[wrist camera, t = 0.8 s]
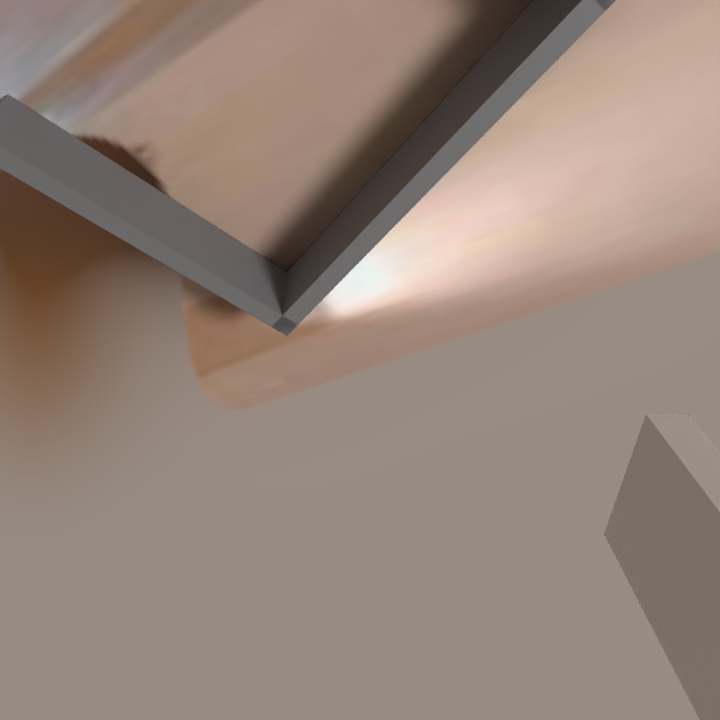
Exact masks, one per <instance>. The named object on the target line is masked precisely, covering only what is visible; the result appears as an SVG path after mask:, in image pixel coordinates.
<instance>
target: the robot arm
mask: <svg viewBox="0 0 720 720" xmlns="http://www.w3.org/2000/svg"><path fill="white" fill-rule="evenodd" d="M604 535H605V537H606V539H607V541H608V543H609V544H610V547H611V548H612V551H613V553H614V554H615V556H616V558H617V560H618V562H619V564H620V566H621V568H622V570H623V572H624V574H625V576H626V578H627V580H628V582H629V584H630V585H631V587H632V589H633V591H634V593H635V595H636V597H637V599H638V601H639V603H640V605H641V607H642V609H643V610H644V613H645V614H646V617H647V619H648V621H649V622H650V624H651V626H652V628H653V630H654V632H655V634H656V636H657V638H658V640H659V642H660V644H661V646H662V647H663V650H664V652H665V654H666V655H667V657H668V659H669V661H670V663H671V665H672V667H673V669H674V671H675V673H676V675H677V677H678V679H679V680H680V683H681V685H682V687H683V688H684V690H685V692H686V694H687V696H688V698H689V700H690V702H691V704H692V706H693V708H694V710H695V712H696V714H697V716H698V718H699V720H720V452H719V450H718V449H717V448H716V447H715V446H714V445H713V443H712V442H711V441H710V440H709V439H708V437H707V436H706V435H705V434H704V433H703V431H702V430H701V429H700V428H699V427H698V426H697V424H696V423H695V422H694V421H693V420H692V418H691V417H690V416H689V415H688V416H687V415H662V414H646V416H645V418H644V421H643V424H642V427H641V430H640V433H639V436H638V438H637V441H636V444H635V447H634V450H633V453H632V456H631V459H630V462H629V464H628V467H627V470H626V473H625V476H624V479H623V481H622V485H621V487H620V490H619V493H618V496H617V499H616V502H615V504H614V508H613V510H612V513H611V516H610V519H609V522H608V525H607V527H606V530H605V533H604Z"/></svg>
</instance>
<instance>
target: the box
mask: <svg viewBox="0 0 720 720" xmlns="http://www.w3.org/2000/svg"><path fill="white" fill-rule="evenodd" d="M614 1H615V0H533V1H532V2H531V3H530V4H529V6H528V7H527V8H526V9H525V10H524V11H523V12H522V13H521V14H520V16H519V17H518V18H517V19H516V20H515V21H514V22H513V23H512V24H511V25H510V27H509V28H508V29H507V30H506V31H505V32H504V33H503V34H502V35H501V36H500V38H499V39H498V40H497V41H496V42H495V43H494V44H493V45H492V46H491V48H490V49H489V50H488V51H487V52H486V53H485V54H484V55H483V56H482V57H481V59H480V60H479V61H478V62H477V63H476V64H475V65H474V66H473V67H472V68H471V70H470V71H469V72H468V73H467V74H466V75H465V76H464V77H463V78H462V80H461V81H460V82H459V83H458V84H457V85H456V86H455V87H454V88H453V89H452V91H451V92H450V93H449V94H448V95H447V96H446V97H445V98H444V99H443V100H442V102H441V103H440V104H439V105H438V106H437V107H436V108H435V109H434V110H433V112H432V113H431V114H430V115H429V116H428V117H427V118H426V119H425V120H424V121H423V123H422V124H421V125H420V126H419V127H418V128H417V129H416V130H415V131H414V132H413V134H412V135H411V136H410V137H409V138H408V139H407V140H406V141H405V142H404V144H403V145H402V146H401V147H400V148H399V149H398V150H397V151H396V152H395V153H394V155H393V156H392V157H391V158H390V159H389V160H388V161H387V162H386V163H385V164H384V166H383V167H382V168H381V169H380V170H379V171H378V172H377V173H376V174H375V176H374V177H373V178H372V179H371V180H370V181H369V182H368V183H367V184H366V185H365V187H364V188H363V189H362V190H361V191H360V192H359V193H358V194H357V195H356V196H355V198H354V199H353V200H352V201H351V202H350V203H349V204H348V205H347V206H346V208H345V209H344V210H343V211H342V212H341V213H340V214H339V215H338V216H337V217H336V219H335V220H334V221H333V222H332V223H331V224H330V225H329V226H328V227H327V228H326V230H325V231H324V232H323V233H322V234H321V235H320V236H319V237H318V238H317V240H316V241H315V242H314V243H313V244H312V245H311V246H310V247H309V248H308V249H307V251H306V252H305V253H304V254H303V255H302V256H301V257H300V258H299V259H298V260H297V262H296V263H295V264H294V265H293V266H292V267H291V268H290V269H289V270H288V272H286V271H285V270H283V269H282V268H280V267H279V266H277V265H275V264H274V263H272V262H271V261H269V260H268V259H266V258H264V257H263V256H261V255H260V254H258V253H257V252H255V251H253V250H252V249H250V248H249V247H247V246H246V245H244V244H242V243H241V242H239V241H238V240H236V239H234V238H233V237H231V236H230V235H228V234H227V233H225V232H223V231H222V230H220V229H219V228H217V227H216V226H214V225H212V224H211V223H209V222H208V221H206V220H205V219H203V218H201V217H200V216H198V215H197V214H195V213H194V212H192V211H190V210H189V209H187V208H186V207H184V206H183V205H181V204H179V203H178V202H176V201H175V200H173V199H172V198H170V197H168V196H167V195H165V194H164V193H162V192H161V191H159V190H157V189H156V188H154V187H152V186H151V185H149V184H148V183H146V182H145V181H143V180H142V179H140V178H138V177H137V176H135V175H134V174H132V173H130V172H129V171H127V170H126V169H124V168H123V167H121V166H120V165H118V164H116V163H115V162H113V161H112V160H110V159H108V158H107V157H105V156H104V155H102V154H101V153H99V152H98V151H96V150H94V149H93V148H91V147H90V146H88V145H87V144H85V143H83V142H82V141H80V140H79V139H77V138H76V137H74V136H72V135H71V134H69V133H68V132H66V131H65V130H63V129H61V128H60V127H58V126H57V125H55V124H54V123H52V122H50V121H49V120H47V119H46V118H44V117H42V116H41V115H39V114H38V113H36V112H35V111H33V110H31V109H30V108H28V107H27V106H25V105H24V104H22V103H20V102H19V101H17V100H16V99H14V98H13V97H11V96H9V95H7V96H6V97H5V98H4V99H3V100H2V101H1V102H0V169H2V170H4V171H6V172H7V173H9V174H11V175H12V176H14V177H16V178H18V179H19V180H21V181H23V182H24V183H26V184H28V185H29V186H31V187H33V188H35V189H36V190H38V191H40V192H42V193H43V194H45V195H47V196H49V197H50V198H52V199H53V200H55V201H57V202H59V203H60V204H63V205H64V206H66V207H67V208H69V209H71V210H72V211H74V212H76V213H78V214H79V215H81V216H83V217H84V218H86V219H88V220H89V221H91V222H93V223H95V224H96V225H98V226H100V227H101V228H103V229H105V230H106V231H108V232H110V233H112V234H113V235H115V236H117V237H118V238H120V239H122V240H124V241H125V242H127V243H129V244H130V245H132V246H134V247H136V248H138V249H139V250H141V251H143V252H144V253H146V254H148V255H149V256H151V257H153V258H154V259H156V260H158V261H160V262H162V263H163V264H165V265H166V266H168V267H170V268H172V269H173V270H175V271H177V272H178V273H180V274H182V275H184V276H185V277H187V278H189V279H190V280H192V281H194V282H195V283H197V284H199V285H201V286H202V287H204V288H206V289H207V290H209V291H211V292H213V293H214V294H216V295H218V296H219V297H221V298H223V299H225V300H226V301H228V302H230V303H231V304H233V305H235V306H237V307H238V308H240V309H242V310H243V311H245V312H247V313H249V314H250V315H252V316H254V317H255V318H257V319H259V320H261V321H262V322H264V323H266V324H267V325H269V326H271V327H273V328H274V329H276V330H278V331H279V332H281V333H283V334H284V335H286V336H287V335H288V334H289V333H290V332H291V331H292V330H293V329H294V328H295V327H296V326H297V325H298V324H299V323H300V322H301V321H302V320H303V319H304V318H305V317H306V316H307V315H308V314H309V313H310V312H311V311H312V310H313V309H314V308H315V307H316V306H317V305H318V304H319V303H320V302H321V301H322V300H323V299H324V297H325V296H326V295H327V294H328V293H329V292H330V291H331V290H332V289H333V288H334V287H335V286H336V285H337V284H338V283H339V282H340V281H341V280H342V279H343V278H344V277H345V276H346V275H347V274H348V273H349V272H350V271H351V270H352V269H353V268H354V267H355V266H356V265H357V264H358V263H359V262H360V261H361V260H362V259H363V258H364V257H365V256H366V255H367V254H368V253H369V252H370V251H371V250H372V248H373V247H374V246H375V245H376V244H377V243H378V242H379V241H380V240H381V239H382V238H383V237H384V236H385V235H386V234H387V233H388V232H389V231H390V230H391V229H392V228H393V227H394V226H395V225H396V224H397V223H398V222H399V221H400V220H401V219H402V218H403V217H404V216H405V215H406V214H407V213H408V212H409V211H410V210H411V209H412V208H413V207H414V206H415V205H416V204H417V203H418V202H419V201H420V200H421V198H422V197H423V196H424V195H425V194H426V193H427V192H428V191H429V190H430V189H431V188H432V187H433V186H434V185H435V184H436V183H437V182H438V181H439V180H440V179H441V178H442V177H443V176H444V175H445V174H446V173H447V172H448V171H449V170H450V169H451V168H452V167H453V166H454V165H455V164H456V163H457V162H458V161H459V160H460V159H461V158H462V157H463V156H464V155H465V154H466V153H467V152H468V151H469V149H470V148H471V147H472V146H473V145H474V144H475V143H476V142H477V141H478V140H479V139H480V138H481V137H482V136H483V135H484V134H485V133H486V132H487V131H488V130H489V129H490V128H491V127H492V126H493V125H494V124H495V123H496V122H497V121H498V120H499V119H500V118H501V117H502V116H503V115H504V114H505V113H506V112H507V111H508V110H509V109H510V108H511V107H512V106H513V105H514V104H515V103H516V102H517V100H518V99H519V98H520V97H521V96H522V95H523V94H524V93H525V92H526V91H527V90H528V89H529V88H530V87H531V86H532V85H533V84H534V83H535V82H536V81H537V80H538V79H539V78H540V77H541V76H542V75H543V74H544V73H545V72H546V71H547V70H548V69H549V68H550V67H551V66H552V65H553V64H554V63H555V62H556V61H557V60H558V59H559V58H560V57H561V56H562V55H563V54H564V53H565V51H566V50H567V49H568V48H569V47H570V46H571V45H572V44H573V43H574V42H575V41H576V40H577V39H578V38H579V37H580V36H581V35H582V34H583V33H584V32H585V31H586V30H587V29H588V28H589V27H590V26H591V25H592V24H593V23H594V22H595V21H596V20H597V19H598V18H599V17H600V16H601V15H602V14H603V13H604V12H605V11H606V10H607V9H608V8H609V7H610V6H611V5H612V4H613V2H614Z"/></svg>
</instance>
